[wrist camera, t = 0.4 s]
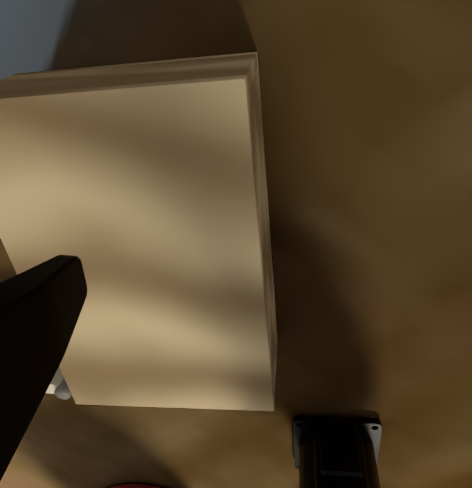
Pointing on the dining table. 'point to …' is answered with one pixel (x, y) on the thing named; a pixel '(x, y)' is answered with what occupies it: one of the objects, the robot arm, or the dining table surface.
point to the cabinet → (149, 225)
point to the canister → (134, 486)
